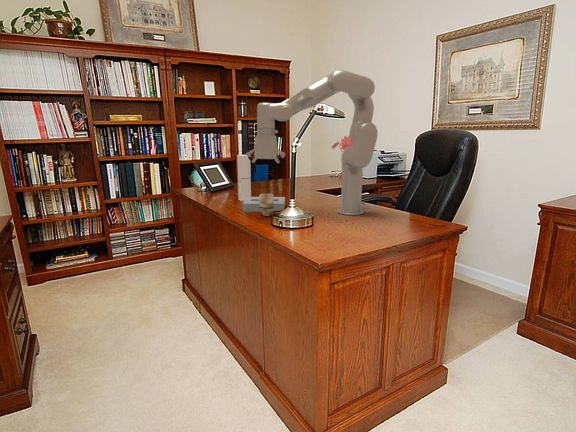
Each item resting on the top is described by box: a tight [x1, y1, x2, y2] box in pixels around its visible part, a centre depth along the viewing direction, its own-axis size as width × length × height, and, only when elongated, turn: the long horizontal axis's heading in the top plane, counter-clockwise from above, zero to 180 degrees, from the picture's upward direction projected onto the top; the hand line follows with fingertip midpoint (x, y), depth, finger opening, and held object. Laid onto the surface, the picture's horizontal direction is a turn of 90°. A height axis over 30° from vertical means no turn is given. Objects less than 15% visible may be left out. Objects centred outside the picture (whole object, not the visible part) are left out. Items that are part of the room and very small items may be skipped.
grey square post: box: [236, 154, 252, 202], centre depth 195 cm, size 7×7×25 cm
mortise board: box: [242, 196, 286, 213], centre depth 177 cm, size 20×18×4 cm
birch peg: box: [258, 193, 274, 217], centre depth 160 cm, size 6×6×10 cm
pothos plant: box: [331, 135, 355, 181], centre depth 276 cm, size 15×26×35 cm, turn 99°
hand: (265, 171), depth 156 cm, fingers open, 9 cm apart
